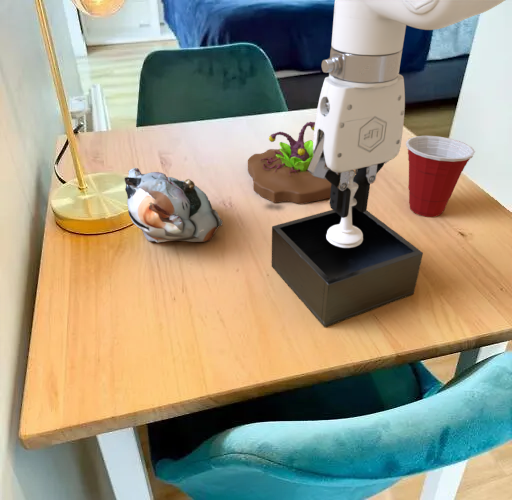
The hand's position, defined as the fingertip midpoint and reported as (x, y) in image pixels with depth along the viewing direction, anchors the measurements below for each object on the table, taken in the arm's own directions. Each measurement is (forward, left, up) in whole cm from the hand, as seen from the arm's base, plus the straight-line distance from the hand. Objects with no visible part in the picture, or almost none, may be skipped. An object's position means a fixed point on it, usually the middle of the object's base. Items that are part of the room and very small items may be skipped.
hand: (348, 208), depth 66 cm
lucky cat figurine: (+22, +17, -12) cm, 30 cm away
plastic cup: (+10, -25, -12) cm, 29 cm away
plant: (+30, -11, -12) cm, 34 cm away
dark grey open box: (0, 0, -12) cm, 12 cm away
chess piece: (0, 0, -5) cm, 5 cm away
